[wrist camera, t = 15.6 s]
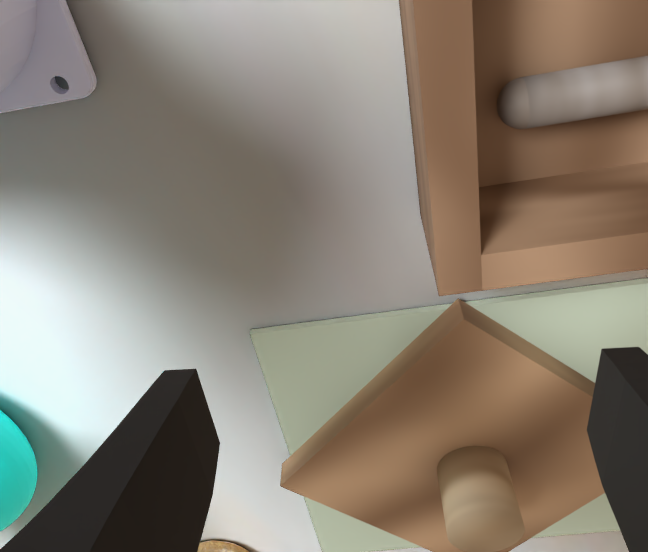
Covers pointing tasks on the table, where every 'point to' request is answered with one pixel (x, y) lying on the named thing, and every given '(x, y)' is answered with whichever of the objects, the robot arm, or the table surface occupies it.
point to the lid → (457, 441)
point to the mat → (396, 334)
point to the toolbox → (529, 137)
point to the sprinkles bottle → (219, 547)
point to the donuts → (15, 472)
